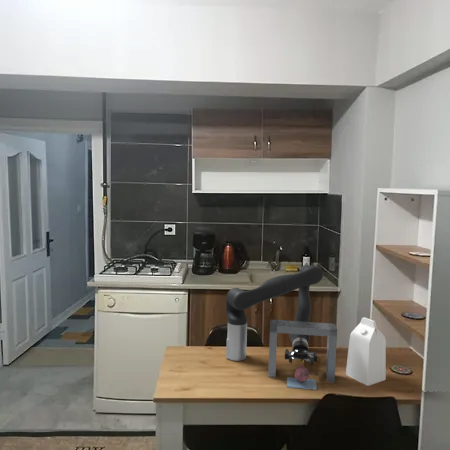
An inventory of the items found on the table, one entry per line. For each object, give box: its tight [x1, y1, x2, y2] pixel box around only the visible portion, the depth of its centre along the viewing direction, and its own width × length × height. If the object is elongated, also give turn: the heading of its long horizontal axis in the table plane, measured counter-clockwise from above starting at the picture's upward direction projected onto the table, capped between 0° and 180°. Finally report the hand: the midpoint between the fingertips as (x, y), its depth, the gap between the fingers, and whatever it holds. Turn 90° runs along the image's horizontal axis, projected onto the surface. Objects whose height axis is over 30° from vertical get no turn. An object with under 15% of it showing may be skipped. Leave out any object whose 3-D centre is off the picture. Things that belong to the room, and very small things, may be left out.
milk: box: [345, 317, 387, 387], centre depth 183 cm, size 12×12×26 cm
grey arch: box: [267, 319, 338, 384], centre depth 184 cm, size 28×8×23 cm, turn 82°
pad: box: [286, 376, 318, 391], centre depth 177 cm, size 12×8×1 cm, turn 82°
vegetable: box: [294, 359, 310, 383], centre depth 176 cm, size 6×6×10 cm
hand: (301, 362), depth 182 cm, fingers open, 8 cm apart
